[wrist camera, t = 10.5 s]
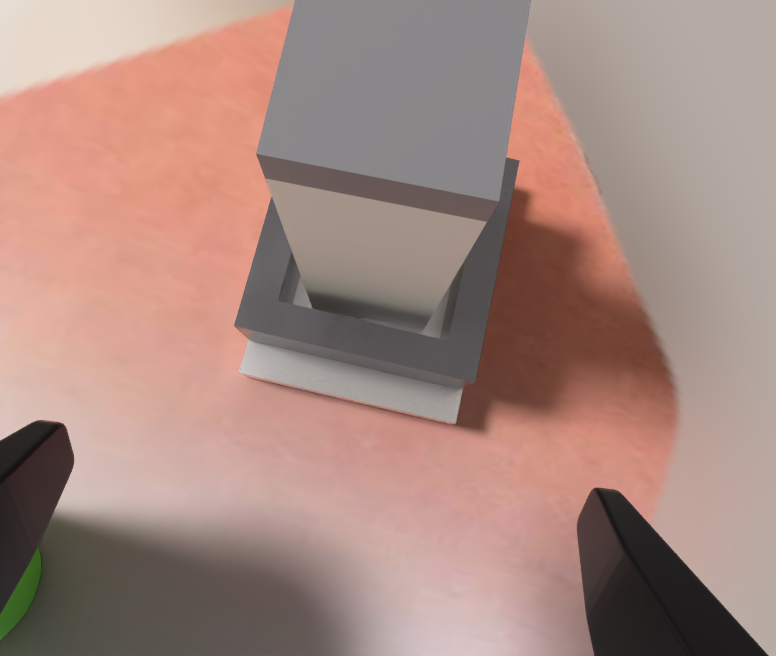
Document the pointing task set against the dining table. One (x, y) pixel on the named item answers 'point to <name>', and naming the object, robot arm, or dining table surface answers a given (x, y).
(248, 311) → the socket
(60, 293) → the dining table surface
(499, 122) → the plug
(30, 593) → the cup
